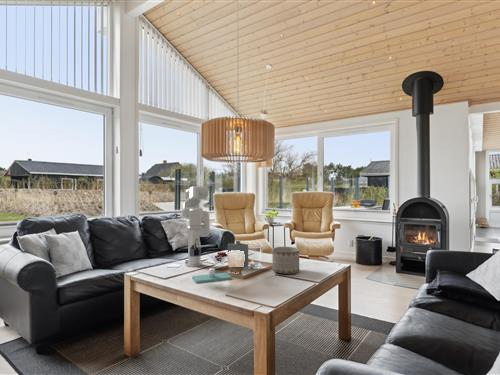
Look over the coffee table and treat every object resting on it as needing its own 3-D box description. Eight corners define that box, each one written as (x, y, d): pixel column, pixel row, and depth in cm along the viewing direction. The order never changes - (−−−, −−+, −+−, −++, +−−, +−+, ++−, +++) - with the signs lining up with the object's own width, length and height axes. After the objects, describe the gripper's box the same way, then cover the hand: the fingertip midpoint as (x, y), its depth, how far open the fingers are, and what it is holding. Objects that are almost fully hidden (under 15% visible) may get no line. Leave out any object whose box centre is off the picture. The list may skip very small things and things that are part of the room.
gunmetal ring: (188, 254, 215) (188, 247, 215) (199, 253, 217) (199, 246, 217) (190, 257, 208) (190, 249, 208) (201, 256, 210) (201, 248, 210)
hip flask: (227, 267, 247) (227, 241, 247) (228, 265, 251) (228, 240, 251) (247, 267, 245) (247, 241, 245) (248, 266, 249) (248, 240, 249)
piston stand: (192, 278, 218) (192, 268, 218) (226, 274, 227) (226, 265, 227) (196, 283, 207) (196, 273, 207) (231, 279, 216) (231, 269, 216)
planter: (298, 268, 242) (298, 246, 242) (300, 276, 223) (300, 252, 223) (272, 268, 244) (272, 246, 244) (272, 275, 225) (272, 251, 224)
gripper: (187, 226, 219) (187, 251, 219) (191, 229, 203) (191, 257, 203) (198, 225, 222) (198, 251, 222) (203, 229, 205) (203, 256, 206)
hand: (195, 254), depth 212 cm, fingers closed on gunmetal ring, 7 cm apart
